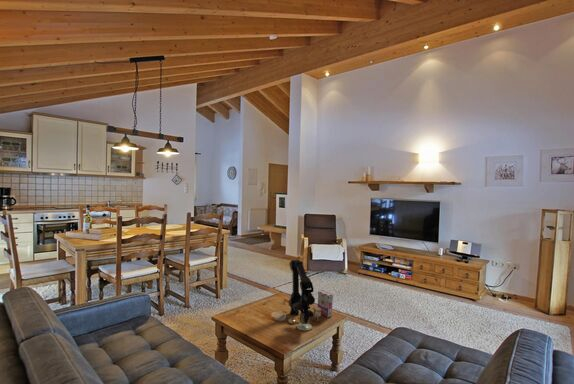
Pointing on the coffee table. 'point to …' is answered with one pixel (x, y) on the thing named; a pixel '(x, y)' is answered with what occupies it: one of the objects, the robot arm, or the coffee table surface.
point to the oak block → (317, 311)
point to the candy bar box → (325, 303)
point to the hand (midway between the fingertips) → (304, 321)
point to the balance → (293, 321)
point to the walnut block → (303, 319)
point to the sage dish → (304, 326)
